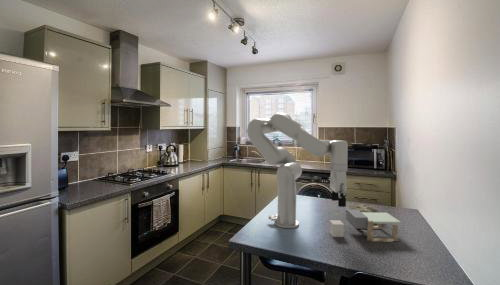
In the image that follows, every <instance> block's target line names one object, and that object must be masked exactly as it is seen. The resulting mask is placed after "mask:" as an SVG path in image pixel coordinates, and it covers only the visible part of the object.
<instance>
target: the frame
mask: <svg viewBox="0 0 500 285" xmlns="http://www.w3.org/2000/svg"><path fill="white" fill-rule="evenodd" d="M359 211H360V210H359ZM398 228H399V227H398V225H397V224H393V225H392V233H391V234H392V237H387V238H386V237H374V230H381V229H383V228H382V224H376V225H374V223H373V221H368V226H367V228H355V229H366V231H367V232H366V240H367V242H385V243H386V242H387V243H388V242H393V241H399V240H398V232H399V231H398Z"/></svg>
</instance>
